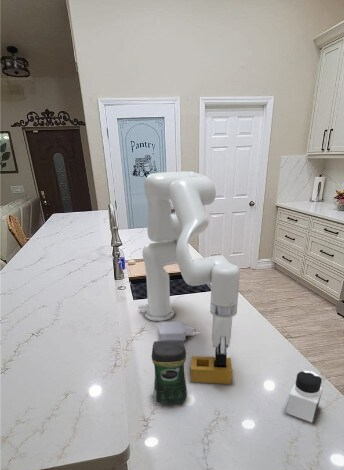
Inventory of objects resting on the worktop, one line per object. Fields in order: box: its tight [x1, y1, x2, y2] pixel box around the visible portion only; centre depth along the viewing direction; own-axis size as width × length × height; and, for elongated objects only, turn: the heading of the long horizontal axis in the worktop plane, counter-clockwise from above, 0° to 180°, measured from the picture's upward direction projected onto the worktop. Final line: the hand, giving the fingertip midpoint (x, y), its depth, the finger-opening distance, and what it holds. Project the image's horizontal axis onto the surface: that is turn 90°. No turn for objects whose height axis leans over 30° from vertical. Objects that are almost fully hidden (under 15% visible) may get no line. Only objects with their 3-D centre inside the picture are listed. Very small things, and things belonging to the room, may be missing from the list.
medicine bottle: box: [285, 370, 324, 423], centre depth 88 cm, size 7×7×12 cm
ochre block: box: [190, 355, 233, 385], centre depth 104 cm, size 12×7×5 cm, turn 85°
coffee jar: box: [151, 340, 188, 405], centre depth 93 cm, size 10×8×19 cm
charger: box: [158, 320, 200, 342], centre depth 126 cm, size 5×9×15 cm
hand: (220, 360), depth 102 cm, fingers closed on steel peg, 3 cm apart
